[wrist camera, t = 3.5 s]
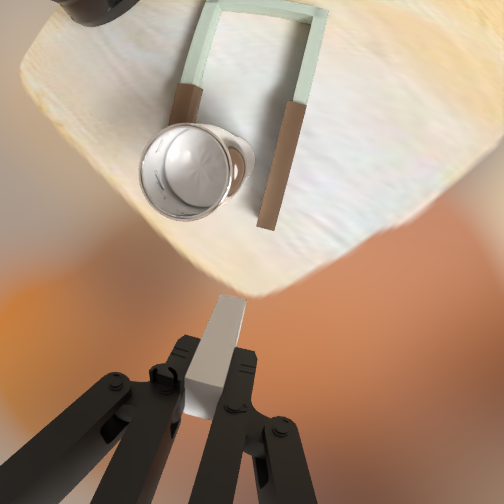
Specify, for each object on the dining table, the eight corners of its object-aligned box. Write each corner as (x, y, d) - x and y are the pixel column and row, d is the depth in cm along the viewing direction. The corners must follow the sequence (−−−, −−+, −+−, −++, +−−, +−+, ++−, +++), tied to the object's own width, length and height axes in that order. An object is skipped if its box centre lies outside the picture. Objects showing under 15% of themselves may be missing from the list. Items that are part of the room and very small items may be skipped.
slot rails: (166, 197, 33) (155, 201, 30) (187, 88, 28) (178, 83, 25) (275, 223, 33) (274, 231, 30) (304, 109, 27) (306, 105, 24)
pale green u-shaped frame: (187, 88, 28) (179, 84, 25) (213, 2, 22) (208, -7, 20) (304, 109, 27) (306, 105, 25) (326, 18, 22) (328, 10, 20)
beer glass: (225, 201, 32) (179, 244, 18) (188, 157, 31) (118, 170, 17) (271, 165, 30) (258, 179, 16) (232, 119, 29) (188, 97, 15)
